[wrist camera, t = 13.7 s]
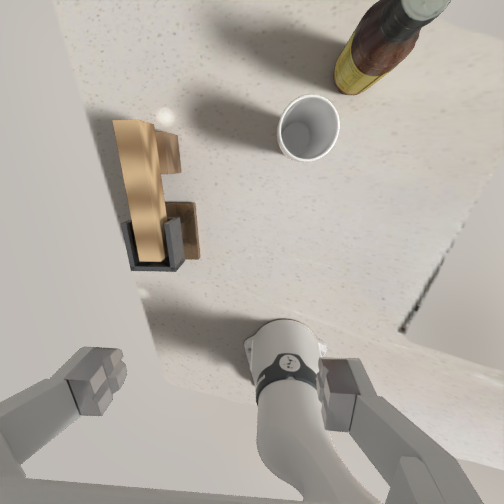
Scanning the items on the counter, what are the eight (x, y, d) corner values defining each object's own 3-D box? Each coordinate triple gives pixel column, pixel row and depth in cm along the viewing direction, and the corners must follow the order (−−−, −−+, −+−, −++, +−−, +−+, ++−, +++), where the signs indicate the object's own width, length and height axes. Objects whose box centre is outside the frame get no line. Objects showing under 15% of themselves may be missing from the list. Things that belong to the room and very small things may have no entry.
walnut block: (181, 172, 43) (168, 174, 37) (149, 172, 43) (131, 174, 38) (177, 135, 41) (162, 131, 35) (143, 136, 41) (123, 132, 36)
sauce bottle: (374, 43, 35) (494, -92, 16) (374, 92, 37) (480, 23, 18) (328, 54, 35) (392, -63, 17) (330, 102, 38) (390, 44, 19)
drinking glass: (272, 159, 41) (273, 158, 27) (277, 114, 39) (282, 89, 25) (311, 163, 41) (332, 165, 27) (319, 119, 39) (347, 96, 25)
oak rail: (130, 124, 35) (112, 120, 31) (153, 124, 35) (138, 119, 31) (152, 251, 42) (139, 261, 38) (171, 251, 42) (160, 261, 38)
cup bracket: (200, 257, 49) (184, 280, 39) (152, 256, 49) (125, 278, 40) (195, 203, 45) (175, 214, 35) (143, 202, 45) (111, 213, 36)
